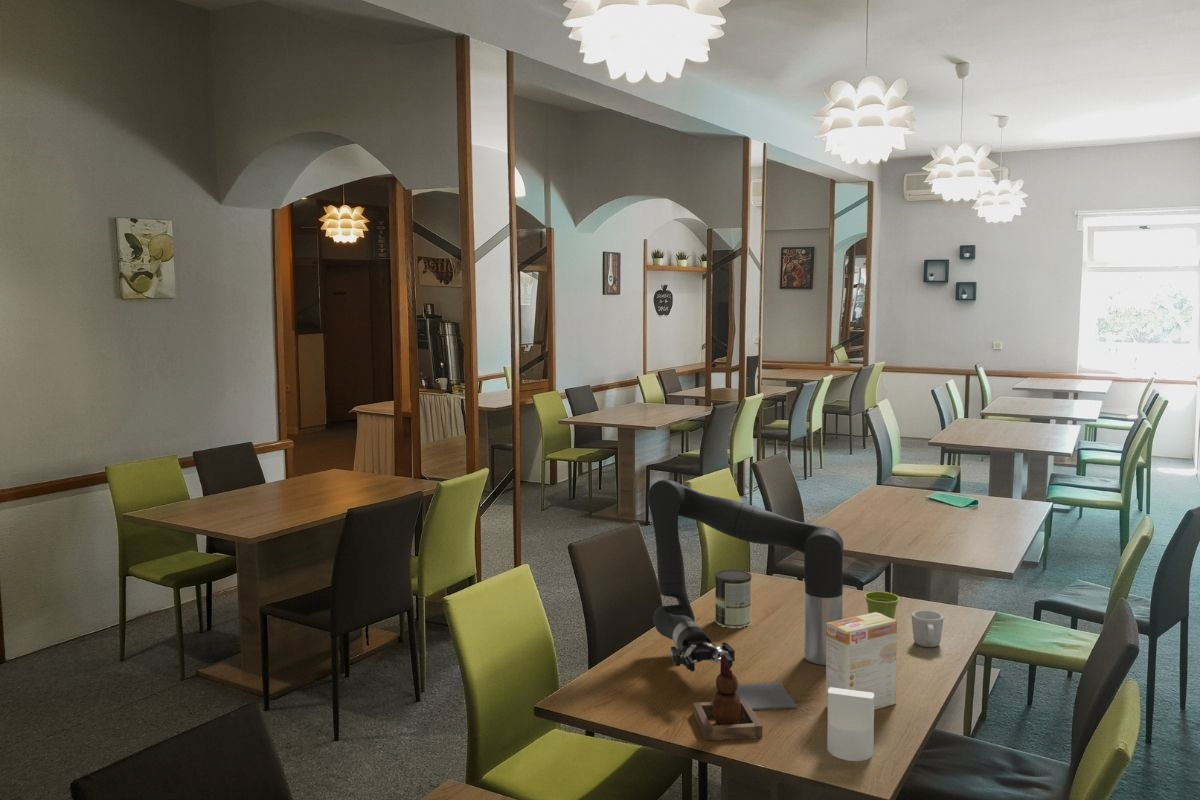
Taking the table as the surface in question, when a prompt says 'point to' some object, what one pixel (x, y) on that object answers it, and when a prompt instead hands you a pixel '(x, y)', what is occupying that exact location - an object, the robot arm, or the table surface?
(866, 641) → the coffeecake box
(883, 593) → the plant pot
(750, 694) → the mat
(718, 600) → the coffee can
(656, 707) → the table surface
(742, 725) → the square wooden frame
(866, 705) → the base with upright slab
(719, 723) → the wooden figurine
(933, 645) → the cup
